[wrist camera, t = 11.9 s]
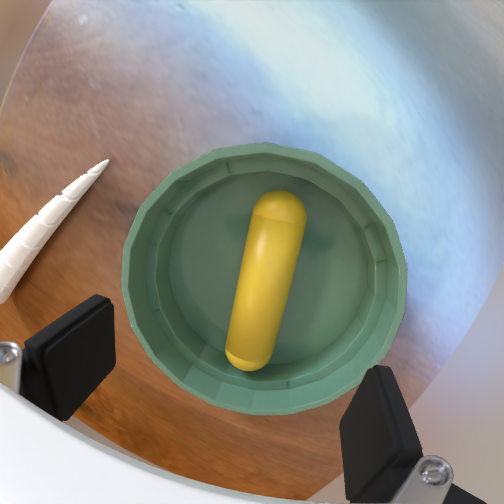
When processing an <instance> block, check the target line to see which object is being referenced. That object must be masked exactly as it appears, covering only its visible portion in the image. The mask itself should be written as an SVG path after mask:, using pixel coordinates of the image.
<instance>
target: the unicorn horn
mask: <svg viewBox="0 0 504 504" xmlns="http://www.w3.org/2000/svg"><path fill="white" fill-rule="evenodd" d="M108 163H109V160H105V161H103V162H101V163H100V164H98V165H97V166H95V167H93V168H92V169H90V170H89V171H88V174H83V175H82V176H81V177H79V178H78V179H77V180H75V181H74V182H73V183H72V184H70V185H69V186H68V187H67V188H65V189H64V190H63V191H62V193H63V194H62V195H61V196H59V195H57V196H56V197H55V198H53V199H52V200H51V201H50V202H49V203H48V204H47V205H46V206H45V207H43V208H42V209H41V210H40V211H39V215H35V216H34V217H33V218H32V219H31V220H29V221H28V222H27V223H26V224H25V225H24V226H23V227H22V229H21V230H20V231H19V232H18V233H17V234H16V235H15V236H14V237H13V238H12V239H11V240H10V241H9V242H8V243H7V244H6V246H5V247H4V248H3V249H2V250H1V251H0V304H2V303H4V302H5V301H6V300H7V299H8V297H9V296H10V295H11V293H12V291H13V290H14V288H15V286H16V285H17V283H18V282H19V280H20V279H21V277H22V276H23V274H24V273H25V271H26V270H27V268H28V267H29V266H30V264H31V263H32V261H33V260H34V258H35V257H36V256H37V254H38V253H39V252H40V250H41V249H42V247H43V246H44V245H45V243H46V242H47V241H48V239H49V238H50V236H51V235H52V234H53V233H54V231H55V230H56V229H57V228H58V226H59V225H60V224H61V222H62V221H63V219H64V218H65V217H66V216H67V215H68V213H69V212H70V211H71V210H72V208H73V207H74V206H75V205H76V203H77V202H78V201H79V200H80V198H81V197H82V195H83V194H84V193H85V192H86V191H87V190H88V189H89V187H90V186H91V185H92V184H93V182H94V181H95V180H96V179H97V178H98V176H99V175H100V174H101V173H102V171H103V170H104V168H105V167H106V165H107V164H108Z"/></svg>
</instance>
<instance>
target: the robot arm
mask: <svg viewBox="0 0 504 504" xmlns="http://www.w3.org/2000/svg"><path fill="white" fill-rule="evenodd" d="M24 343H25V348H24V349H23V350H22V349H21V347H20V346H19V345H18V344H17V343H15V342H12V341H7V340H6V341H0V504H347V503H323V502H308V501H298V500H289V499H281V498H273V497H267V496H261V495H255V494H250V493H244V492H240V491H235V490H230V489H226V488H222V487H218V486H214V485H210V484H206V483H203V482H199V481H196V480H192V479H189V478H186V477H182V476H179V475H176V474H173V473H170V472H167V471H165V470H162V469H159V468H156V467H154V466H151V465H149V464H145V463H143V462H141V461H138V460H136V459H134V458H131V457H129V456H127V455H125V454H122V453H120V452H118V451H116V450H113V449H111V448H109V447H107V446H105V445H103V444H101V443H99V442H97V441H95V440H93V439H91V438H89V437H87V436H85V435H84V434H82V433H80V432H78V431H76V430H74V429H73V428H71V427H69V426H68V425H66V424H64V423H62V421H63V420H64V421H67V420H68V419H69V418H70V417H71V416H72V415H73V414H74V413H75V411H76V410H77V409H78V408H79V407H80V406H81V405H82V403H83V402H84V401H85V400H86V399H87V398H88V397H89V395H90V394H91V393H92V392H93V391H94V390H95V389H96V388H97V386H98V385H99V384H100V383H101V382H102V381H103V380H104V379H105V378H106V376H107V375H108V374H109V373H110V372H111V371H112V370H113V368H114V367H115V364H116V353H115V331H114V305H113V304H112V303H111V301H110V299H109V298H106V297H103V296H101V295H98V294H95V295H93V296H92V297H90V298H89V299H87V300H85V301H84V302H82V303H81V304H79V305H78V306H76V307H75V308H73V309H72V310H70V311H69V312H67V313H66V314H64V315H63V316H61V317H60V318H58V319H57V320H55V321H54V322H52V323H51V324H49V325H48V326H46V327H45V328H44V329H42V330H41V331H39V332H38V333H36V334H35V335H33V336H32V337H31V338H29V339H28V340H26V341H25V342H24ZM339 429H340V438H341V448H342V458H343V469H344V479H345V494H346V499H347V500H350V504H487V503H485V502H484V501H482V500H481V499H479V498H477V497H475V496H473V495H472V494H470V493H468V492H466V491H465V490H463V489H461V488H459V487H458V486H456V485H454V484H453V483H452V481H453V476H454V475H453V470H452V467H451V465H450V464H449V463H448V462H447V461H446V460H445V459H443V458H442V457H439V456H435V455H427V456H423V453H422V447H421V444H420V441H419V438H418V436H417V433H416V430H415V427H414V424H413V422H412V419H411V417H410V414H409V411H408V409H407V406H406V404H405V401H404V399H403V396H402V394H401V391H400V389H399V386H398V384H397V382H396V379H395V377H394V374H393V372H392V370H391V368H390V367H388V366H380V365H374V366H373V367H372V368H369V369H368V370H367V371H366V373H365V375H364V377H363V379H362V381H361V383H360V385H359V387H358V389H357V391H356V393H355V395H354V397H353V399H352V401H351V403H350V404H349V406H348V408H347V410H346V412H345V413H344V415H343V417H342V419H341V421H340V426H339Z"/></svg>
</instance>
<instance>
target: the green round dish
mask: <svg viewBox="0 0 504 504" xmlns="http://www.w3.org/2000/svg"><path fill="white" fill-rule="evenodd" d="M273 190H286V191H289V192H291V193H293V194H295V195H296V196H297V197H298V198H299V199H300V200H301V201H302V202H303V204H304V206H305V209H306V212H307V222H306V227H305V231H304V236H303V240H302V244H301V248H300V252H299V256H298V260H297V264H296V268H295V272H294V276H293V280H292V284H291V288H290V291H289V295H288V299H287V303H286V306H285V310H284V314H283V317H282V321H281V325H280V328H279V332H278V335H277V339H276V342H275V346H274V349H273V353H272V356H271V358H270V360H269V361H268V363H267V364H266V365H265V366H263V367H262V368H260V369H258V370H255V371H243V370H240V369H238V368H236V367H235V366H233V365H232V364H231V362H230V361H229V360H228V358H227V355H226V350H225V345H226V339H227V334H228V329H229V324H230V319H231V314H232V309H233V304H234V299H235V294H236V289H237V284H238V279H239V274H240V269H241V264H242V259H243V254H244V249H245V244H246V239H247V235H248V230H249V225H250V220H251V215H252V211H253V208H254V205H255V203H256V202H257V200H258V199H259V198H260V197H261V196H262V195H264V194H265V193H267V192H269V191H273ZM121 289H122V293H123V297H124V302H125V306H126V310H127V314H128V318H129V321H130V325H131V327H132V329H133V331H134V333H135V334H136V336H137V338H138V340H139V341H140V343H141V345H142V346H143V348H144V350H145V351H146V353H147V355H148V356H149V358H150V359H151V361H152V362H153V363H154V364H155V365H156V366H157V367H159V368H160V369H161V370H162V371H163V372H164V373H165V374H166V375H167V376H168V377H169V378H170V379H171V380H172V381H173V382H174V383H175V384H176V385H177V386H179V387H180V388H182V389H184V390H185V391H187V392H189V393H191V394H192V395H194V396H196V397H198V398H200V399H201V400H203V401H205V402H207V403H209V404H211V405H213V406H216V407H220V408H223V409H227V410H231V411H235V412H239V413H243V414H247V415H289V414H290V415H291V414H295V413H298V412H302V411H306V410H309V409H313V408H316V407H320V406H323V405H326V404H329V403H330V402H332V401H334V400H335V399H337V398H339V397H340V396H342V395H343V394H345V393H347V392H348V391H350V390H351V389H353V388H355V387H356V386H358V385H359V384H360V383H361V381H362V379H363V377H364V375H365V373H366V371H367V370H368V369H369V368H372V367H373V366H374V365H378V364H379V363H380V362H381V360H382V359H383V358H384V357H385V356H386V354H387V353H388V351H389V350H390V348H391V345H392V343H393V341H394V338H395V336H396V334H397V331H398V329H399V326H400V324H401V321H402V319H403V316H404V314H405V306H406V291H407V264H406V260H405V257H404V253H403V250H402V247H401V243H400V240H399V237H398V234H397V231H396V228H395V225H394V223H393V220H392V219H391V218H390V216H389V215H388V214H387V212H386V211H385V210H384V208H383V207H382V206H381V204H380V203H379V202H378V200H377V199H376V198H375V196H374V195H373V194H372V193H371V191H370V190H369V189H368V188H367V186H366V185H365V184H364V183H363V182H362V181H361V180H360V179H358V178H357V177H355V176H354V175H352V174H350V173H349V172H347V171H346V170H344V169H343V168H341V167H340V166H338V165H336V164H335V163H333V162H331V161H330V160H328V159H327V158H325V157H323V156H322V155H320V154H317V153H314V152H310V151H306V150H301V149H297V148H292V147H288V146H283V145H278V144H273V143H268V142H262V143H254V144H246V145H238V146H231V147H225V148H218V149H215V150H212V151H210V152H208V153H206V154H204V155H202V156H200V157H198V158H196V159H194V160H192V161H190V162H189V163H187V164H185V165H183V166H181V167H179V168H177V169H176V170H174V171H172V172H171V173H170V174H169V175H168V176H167V177H166V178H165V179H164V180H163V181H162V182H161V183H160V185H159V186H158V187H157V188H156V189H155V190H154V191H153V192H152V193H151V195H150V196H149V197H148V198H147V199H146V200H145V201H144V202H143V204H142V205H141V207H140V208H139V210H138V213H137V215H136V217H135V220H134V222H133V224H132V227H131V229H130V232H129V234H128V237H127V239H126V242H125V244H124V248H123V260H122V276H121Z"/></svg>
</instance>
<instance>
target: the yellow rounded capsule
mask: <svg viewBox="0 0 504 504" xmlns="http://www.w3.org/2000/svg"><path fill="white" fill-rule="evenodd" d="M306 222H307V212H306V209H305V206H304V204H303V202H302V201H301V200H300V199H299V198H298V197H297V196H296V195H295V194H293V193H291V192H289V191H286V190H273V191H269V192H267V193H265V194H264V195H262V196H261V197H260V198H259V199H258V200H257V202H256V203H255V205H254V208H253V211H252V215H251V220H250V225H249V230H248V235H247V239H246V244H245V249H244V254H243V259H242V264H241V269H240V274H239V279H238V284H237V289H236V294H235V299H234V304H233V309H232V314H231V319H230V324H229V329H228V334H227V339H226V345H225V350H226V355H227V358H228V360H229V361H230V362H231V364H232V365H233V366H235V367H236V368H238V369H240V370H243V371H255V370H258V369H260V368H262V367H263V366H265V365H266V364H267V363H268V361H269V360H270V358H271V356H272V353H273V349H274V346H275V342H276V339H277V335H278V332H279V328H280V325H281V321H282V317H283V314H284V310H285V306H286V303H287V299H288V295H289V291H290V288H291V284H292V280H293V276H294V272H295V268H296V264H297V260H298V256H299V252H300V248H301V244H302V240H303V236H304V231H305V227H306Z"/></svg>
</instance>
